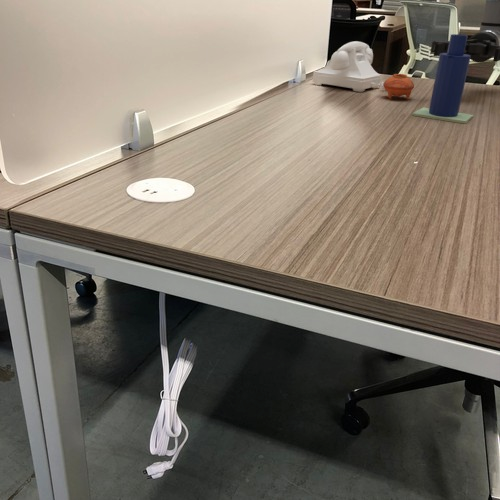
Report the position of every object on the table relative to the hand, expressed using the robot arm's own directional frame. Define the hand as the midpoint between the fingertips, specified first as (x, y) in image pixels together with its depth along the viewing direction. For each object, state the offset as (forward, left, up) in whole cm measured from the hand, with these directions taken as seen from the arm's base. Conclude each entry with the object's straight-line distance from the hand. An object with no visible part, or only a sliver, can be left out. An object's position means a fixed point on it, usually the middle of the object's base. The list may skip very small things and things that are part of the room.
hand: (465, 52), depth 118 cm
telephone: (+32, -15, -14) cm, 38 cm away
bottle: (0, +9, -13) cm, 16 cm away
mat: (0, +9, -13) cm, 16 cm away
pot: (+16, -5, -14) cm, 22 cm away
